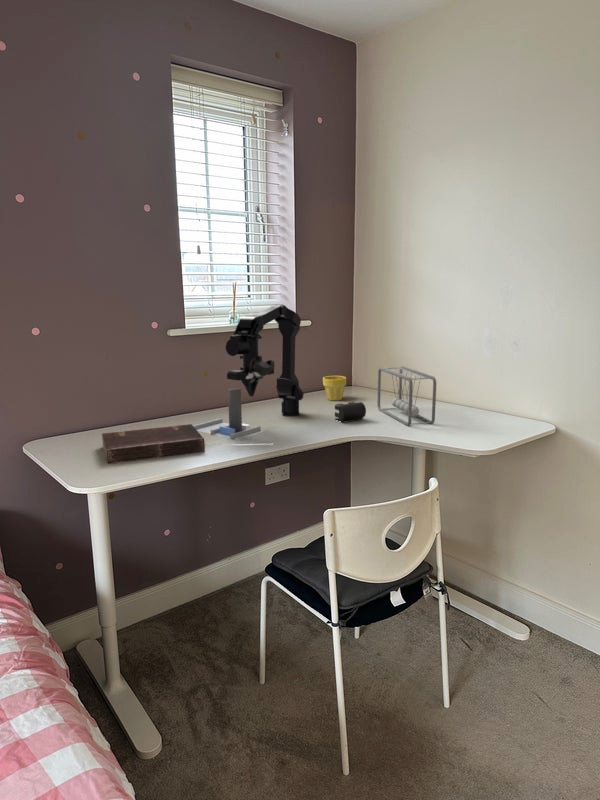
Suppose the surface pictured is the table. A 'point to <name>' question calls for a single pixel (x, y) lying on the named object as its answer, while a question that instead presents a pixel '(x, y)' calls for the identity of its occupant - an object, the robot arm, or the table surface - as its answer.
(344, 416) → the black cylinder
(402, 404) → the newton's cradle
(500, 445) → the table surface
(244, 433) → the board
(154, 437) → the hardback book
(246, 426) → the ear clip
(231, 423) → the grey square pillar
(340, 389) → the plant pot
